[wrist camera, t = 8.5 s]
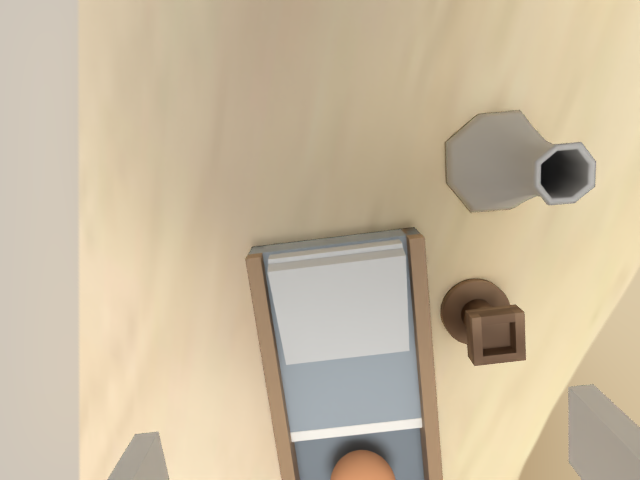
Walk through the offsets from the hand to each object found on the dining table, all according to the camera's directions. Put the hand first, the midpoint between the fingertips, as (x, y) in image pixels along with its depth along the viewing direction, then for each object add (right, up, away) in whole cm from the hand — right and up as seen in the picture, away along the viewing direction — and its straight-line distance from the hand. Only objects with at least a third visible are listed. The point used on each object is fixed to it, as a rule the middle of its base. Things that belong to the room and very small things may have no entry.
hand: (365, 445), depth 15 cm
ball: (+2, -12, +20) cm, 23 cm away
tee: (+10, +1, +21) cm, 23 cm away
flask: (+11, +12, +19) cm, 25 cm away
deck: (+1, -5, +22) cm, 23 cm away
